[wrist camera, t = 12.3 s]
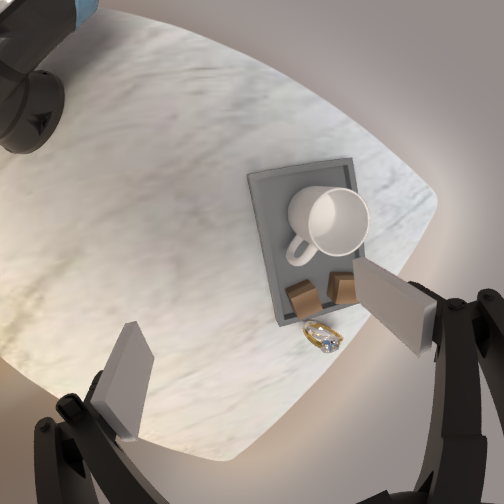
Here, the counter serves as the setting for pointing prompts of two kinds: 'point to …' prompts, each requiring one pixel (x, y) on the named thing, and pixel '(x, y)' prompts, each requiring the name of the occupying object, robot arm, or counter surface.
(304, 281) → the block
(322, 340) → the ring
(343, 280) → the block
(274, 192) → the tray
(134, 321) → the robot arm
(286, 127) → the counter surface
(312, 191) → the cup
